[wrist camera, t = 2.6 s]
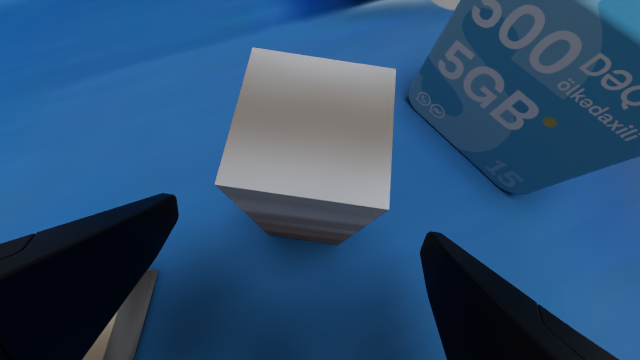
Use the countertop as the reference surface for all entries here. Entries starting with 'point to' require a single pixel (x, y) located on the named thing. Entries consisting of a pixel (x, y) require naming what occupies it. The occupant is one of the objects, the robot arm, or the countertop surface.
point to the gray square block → (310, 145)
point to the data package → (536, 87)
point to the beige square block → (125, 324)
